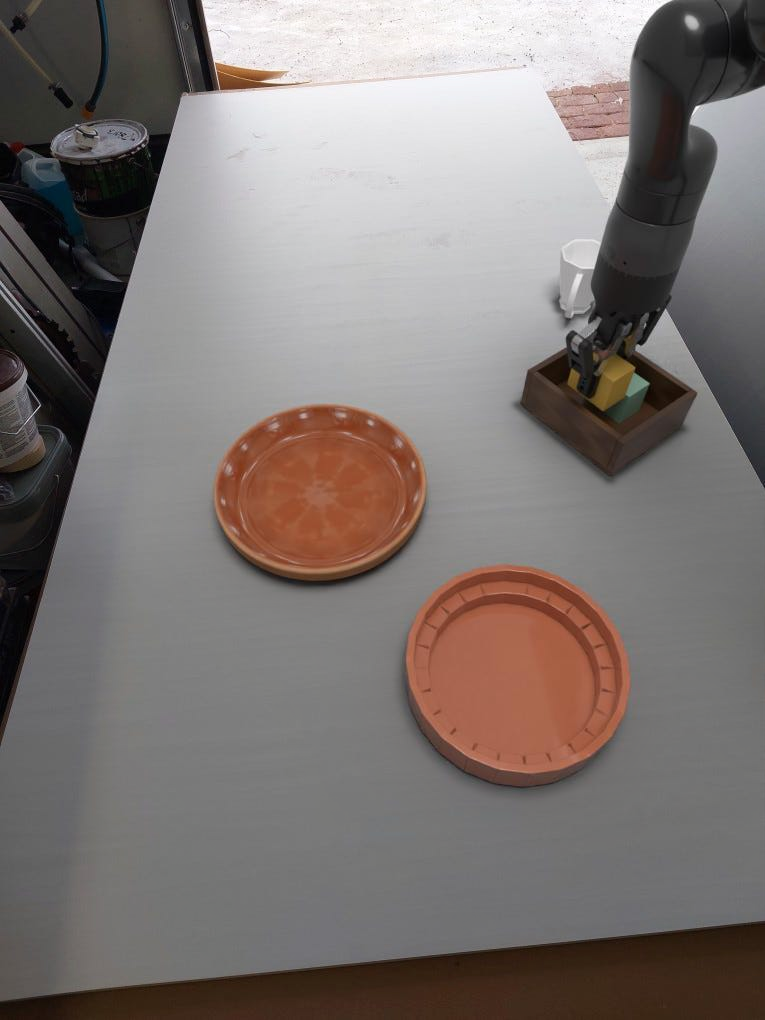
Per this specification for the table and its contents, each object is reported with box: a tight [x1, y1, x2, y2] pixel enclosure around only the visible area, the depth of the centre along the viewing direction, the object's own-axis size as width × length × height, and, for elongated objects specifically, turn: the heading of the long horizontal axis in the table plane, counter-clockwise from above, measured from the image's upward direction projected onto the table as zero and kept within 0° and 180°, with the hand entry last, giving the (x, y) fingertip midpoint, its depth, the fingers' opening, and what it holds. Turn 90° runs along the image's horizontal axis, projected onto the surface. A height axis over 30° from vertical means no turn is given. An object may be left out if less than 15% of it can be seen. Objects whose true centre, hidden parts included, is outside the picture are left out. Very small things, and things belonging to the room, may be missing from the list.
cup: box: [558, 238, 601, 319], centre depth 92 cm, size 7×10×8 cm
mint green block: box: [585, 373, 650, 424], centre depth 82 cm, size 6×4×4 cm, turn 37°
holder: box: [520, 345, 699, 477], centre depth 82 cm, size 15×13×6 cm
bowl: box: [404, 563, 631, 788], centre depth 62 cm, size 19×19×4 cm
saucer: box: [212, 403, 428, 582], centre depth 75 cm, size 23×23×4 cm
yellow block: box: [567, 353, 636, 411], centre depth 77 cm, size 6×4×4 cm, turn 37°
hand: (597, 385), depth 78 cm, fingers closed on yellow block, 3 cm apart
